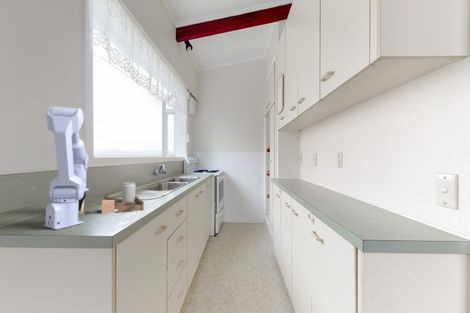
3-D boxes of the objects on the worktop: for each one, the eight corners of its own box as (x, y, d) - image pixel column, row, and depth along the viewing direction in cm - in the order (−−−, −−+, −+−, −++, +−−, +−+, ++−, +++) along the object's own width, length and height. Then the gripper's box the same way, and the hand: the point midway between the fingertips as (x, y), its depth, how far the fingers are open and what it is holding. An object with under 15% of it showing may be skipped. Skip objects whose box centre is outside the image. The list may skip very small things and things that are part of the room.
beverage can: (137, 204, 123) (138, 182, 123) (130, 207, 117) (131, 183, 117) (126, 203, 124) (126, 181, 124) (119, 206, 118) (119, 183, 118)
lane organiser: (118, 212, 106) (118, 204, 106) (113, 204, 121) (113, 197, 121) (143, 210, 112) (143, 202, 112) (135, 202, 127) (135, 195, 127)
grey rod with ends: (74, 215, 98) (75, 201, 98) (76, 213, 103) (76, 199, 103) (114, 212, 106) (114, 199, 106) (113, 210, 110) (114, 197, 110)
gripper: (90, 180, 97) (89, 212, 97) (88, 177, 109) (87, 205, 109) (69, 181, 93) (68, 214, 93) (70, 177, 105) (69, 207, 105)
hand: (77, 210), depth 101 cm, fingers closed on grey rod with ends, 3 cm apart
